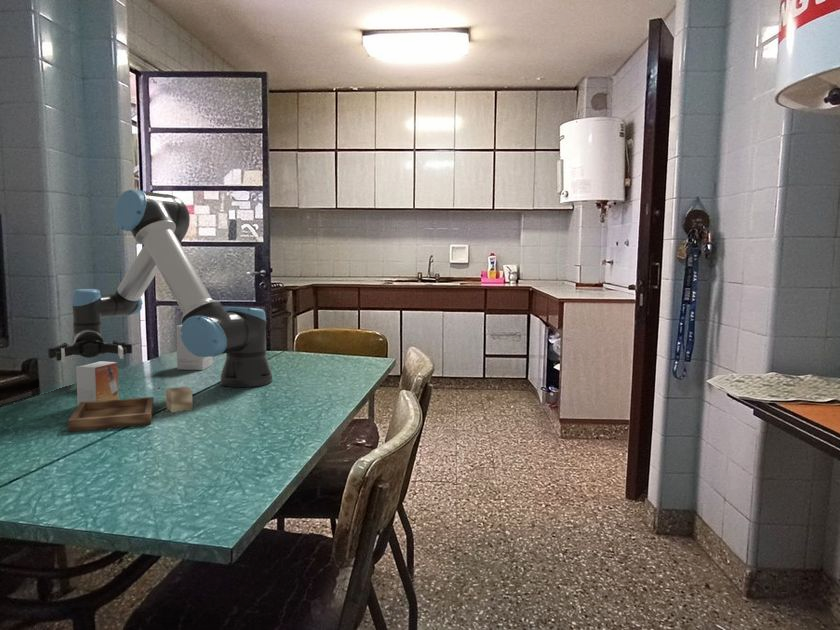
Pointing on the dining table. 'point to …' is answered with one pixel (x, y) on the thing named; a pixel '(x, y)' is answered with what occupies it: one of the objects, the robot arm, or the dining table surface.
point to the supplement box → (189, 356)
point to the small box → (97, 382)
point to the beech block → (179, 399)
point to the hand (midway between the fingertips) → (93, 355)
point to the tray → (111, 414)
